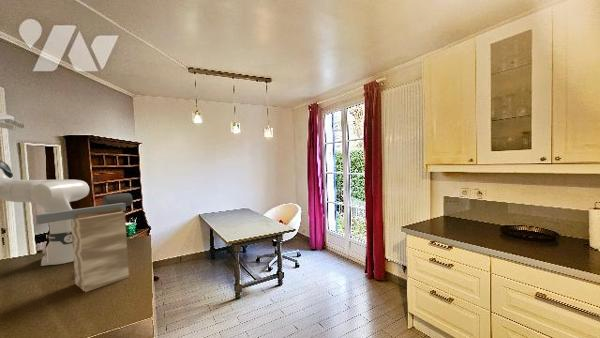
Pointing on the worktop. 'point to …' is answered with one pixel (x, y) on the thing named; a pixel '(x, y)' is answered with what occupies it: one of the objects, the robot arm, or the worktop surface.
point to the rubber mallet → (118, 199)
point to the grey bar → (75, 213)
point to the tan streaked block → (99, 248)
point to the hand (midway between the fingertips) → (19, 127)
